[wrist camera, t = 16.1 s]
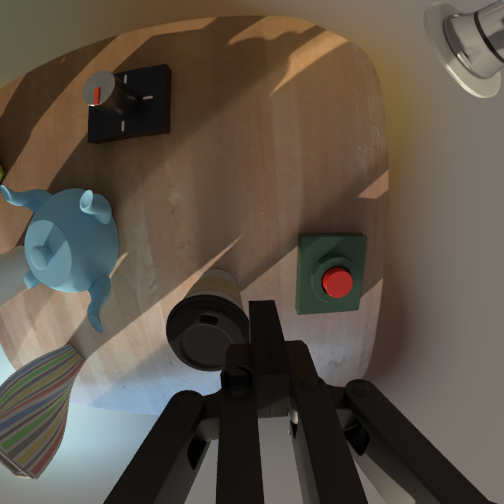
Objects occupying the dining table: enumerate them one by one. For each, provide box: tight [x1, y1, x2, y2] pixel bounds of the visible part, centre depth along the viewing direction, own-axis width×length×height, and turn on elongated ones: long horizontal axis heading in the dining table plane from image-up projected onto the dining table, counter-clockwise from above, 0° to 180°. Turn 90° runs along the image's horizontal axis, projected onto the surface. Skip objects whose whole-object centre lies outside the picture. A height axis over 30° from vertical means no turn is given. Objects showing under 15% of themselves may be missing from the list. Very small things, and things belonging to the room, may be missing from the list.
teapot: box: [0, 185, 119, 333], centre depth 33 cm, size 17×19×12 cm
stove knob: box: [83, 71, 138, 117], centre depth 27 cm, size 4×4×8 cm
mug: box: [0, 245, 31, 308], centre depth 34 cm, size 12×8×12 cm
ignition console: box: [295, 233, 367, 315], centre depth 40 cm, size 10×12×4 cm
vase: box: [0, 344, 85, 479], centre depth 31 cm, size 14×14×30 cm
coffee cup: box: [166, 269, 250, 371], centre depth 35 cm, size 9×9×15 cm
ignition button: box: [323, 267, 353, 298], centre depth 38 cm, size 4×4×2 cm
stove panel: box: [88, 64, 171, 144], centre depth 32 cm, size 12×10×3 cm
